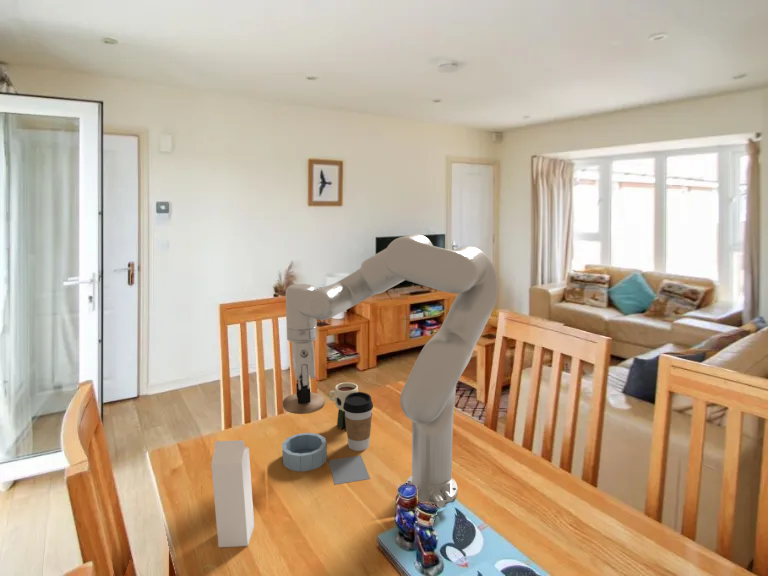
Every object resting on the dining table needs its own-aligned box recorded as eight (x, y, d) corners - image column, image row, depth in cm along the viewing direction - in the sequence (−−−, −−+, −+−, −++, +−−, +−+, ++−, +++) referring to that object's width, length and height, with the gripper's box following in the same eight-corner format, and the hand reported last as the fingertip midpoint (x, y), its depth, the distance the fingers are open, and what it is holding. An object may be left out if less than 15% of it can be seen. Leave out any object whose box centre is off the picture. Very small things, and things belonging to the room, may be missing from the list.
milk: (226, 527, 100) (218, 433, 96) (255, 526, 101) (248, 432, 96) (218, 548, 94) (209, 449, 90) (248, 546, 95) (240, 447, 90)
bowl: (329, 469, 121) (328, 451, 120) (284, 476, 118) (283, 458, 117) (323, 446, 132) (323, 430, 131) (282, 452, 129) (281, 436, 128)
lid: (284, 416, 115) (283, 393, 114) (281, 397, 126) (281, 377, 124) (327, 411, 118) (327, 389, 117) (321, 393, 129) (321, 373, 127)
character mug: (326, 429, 142) (325, 389, 139) (334, 418, 149) (333, 380, 146) (360, 433, 139) (360, 393, 137) (367, 422, 146) (366, 383, 144)
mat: (370, 480, 116) (370, 478, 116) (334, 486, 114) (334, 484, 114) (361, 457, 127) (361, 455, 127) (328, 462, 124) (328, 460, 124)
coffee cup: (375, 439, 136) (374, 392, 133) (371, 455, 127) (371, 404, 125) (347, 438, 137) (345, 390, 134) (341, 454, 128) (340, 403, 125)
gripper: (320, 341, 111) (322, 412, 115) (312, 323, 127) (314, 386, 130) (289, 343, 109) (291, 415, 113) (284, 325, 125) (286, 388, 128)
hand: (303, 399), depth 122 cm, fingers closed on lid, 2 cm apart
